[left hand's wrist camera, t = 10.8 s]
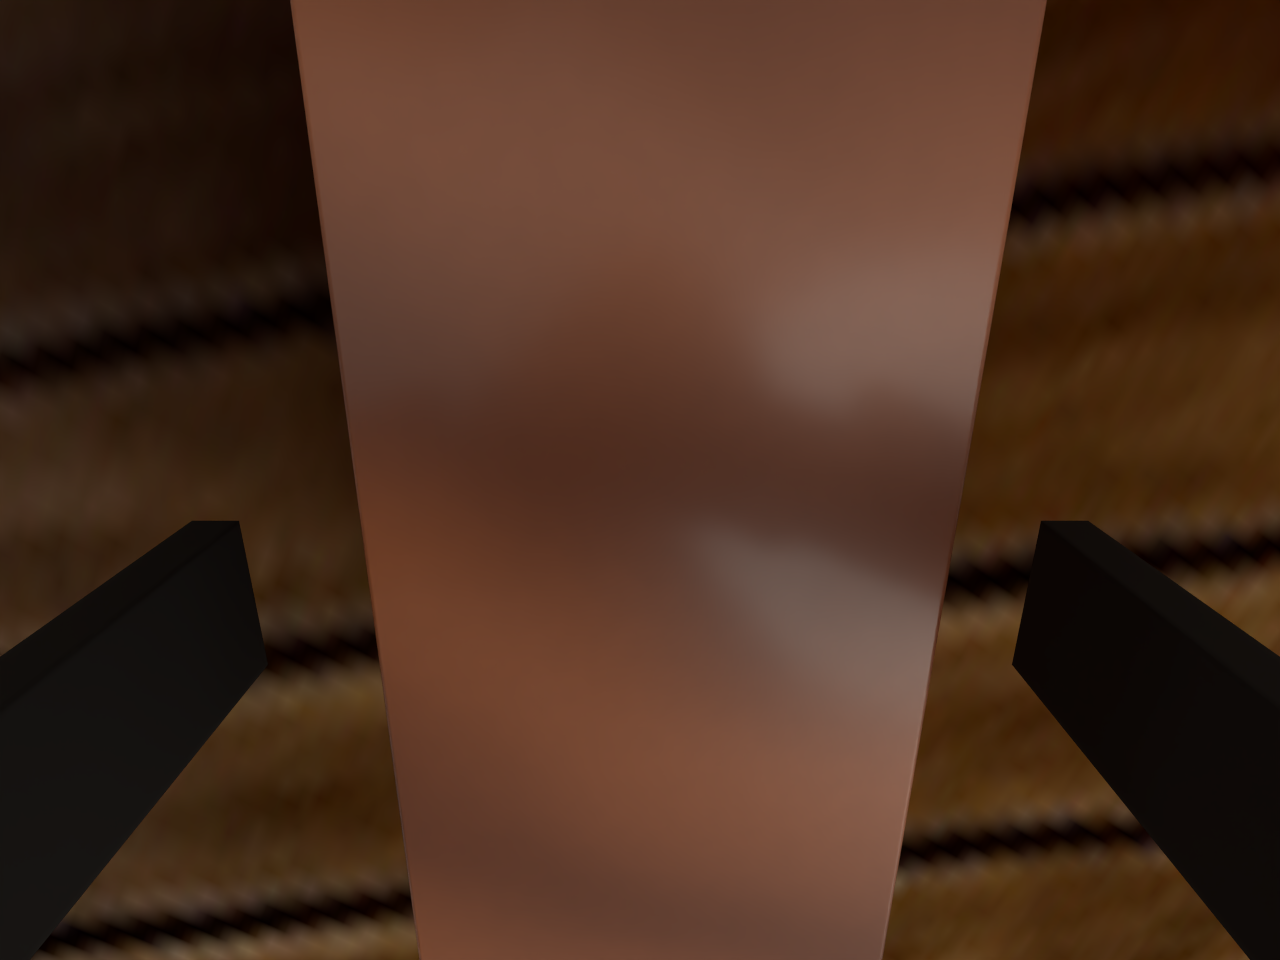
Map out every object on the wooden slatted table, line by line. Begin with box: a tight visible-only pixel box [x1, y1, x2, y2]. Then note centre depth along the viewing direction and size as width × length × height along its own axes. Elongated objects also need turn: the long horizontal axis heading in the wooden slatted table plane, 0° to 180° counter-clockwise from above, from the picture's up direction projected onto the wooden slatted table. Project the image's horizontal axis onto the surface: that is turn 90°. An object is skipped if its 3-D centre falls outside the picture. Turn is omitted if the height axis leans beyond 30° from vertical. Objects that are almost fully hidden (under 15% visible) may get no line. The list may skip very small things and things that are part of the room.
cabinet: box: [290, 0, 1047, 960], centre depth 12 cm, size 17×7×9 cm, turn 0°
